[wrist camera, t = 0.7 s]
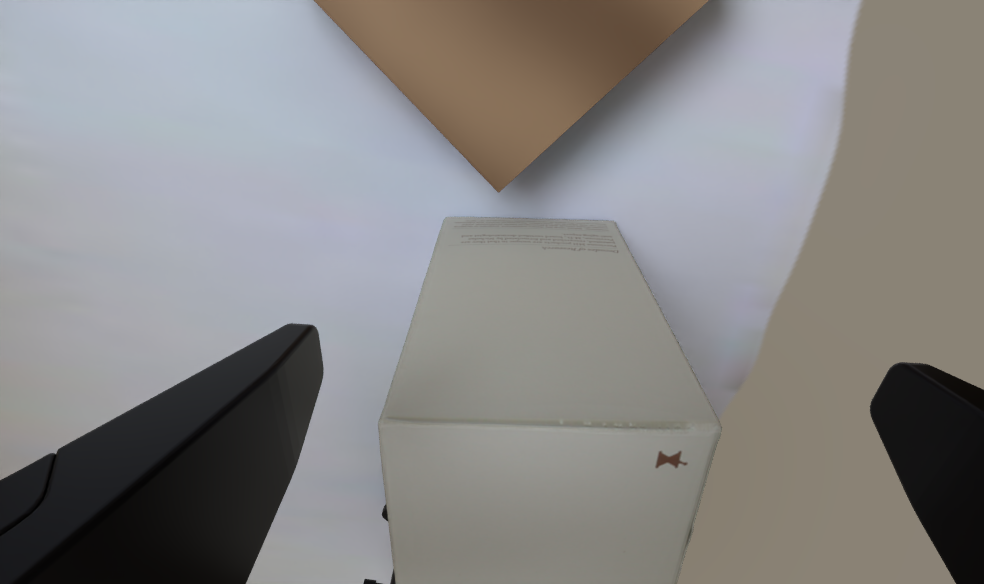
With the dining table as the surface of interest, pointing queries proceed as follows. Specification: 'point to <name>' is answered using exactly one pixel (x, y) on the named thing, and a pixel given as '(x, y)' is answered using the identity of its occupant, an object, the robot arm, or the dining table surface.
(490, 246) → the supplement box
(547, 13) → the walnut block
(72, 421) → the dining table surface
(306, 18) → the dining table surface
